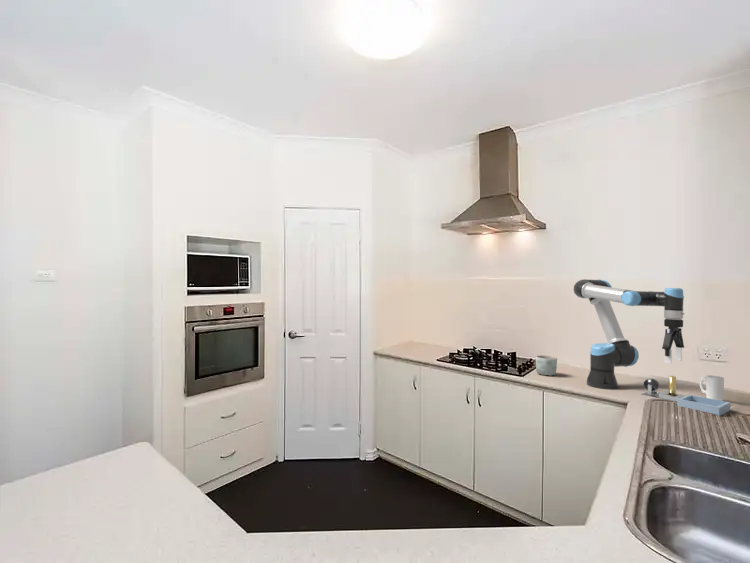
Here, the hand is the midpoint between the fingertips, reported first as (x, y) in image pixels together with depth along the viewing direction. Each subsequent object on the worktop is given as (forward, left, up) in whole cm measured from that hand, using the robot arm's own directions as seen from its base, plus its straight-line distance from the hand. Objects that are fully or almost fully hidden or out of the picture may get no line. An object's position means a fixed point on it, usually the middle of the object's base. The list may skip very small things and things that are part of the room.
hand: (673, 361), depth 194 cm
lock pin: (0, 0, -18) cm, 18 cm away
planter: (-65, -4, -19) cm, 68 cm away
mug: (+10, +17, -19) cm, 27 cm away
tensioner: (-4, 0, -19) cm, 19 cm away
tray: (+13, -4, -19) cm, 24 cm away
